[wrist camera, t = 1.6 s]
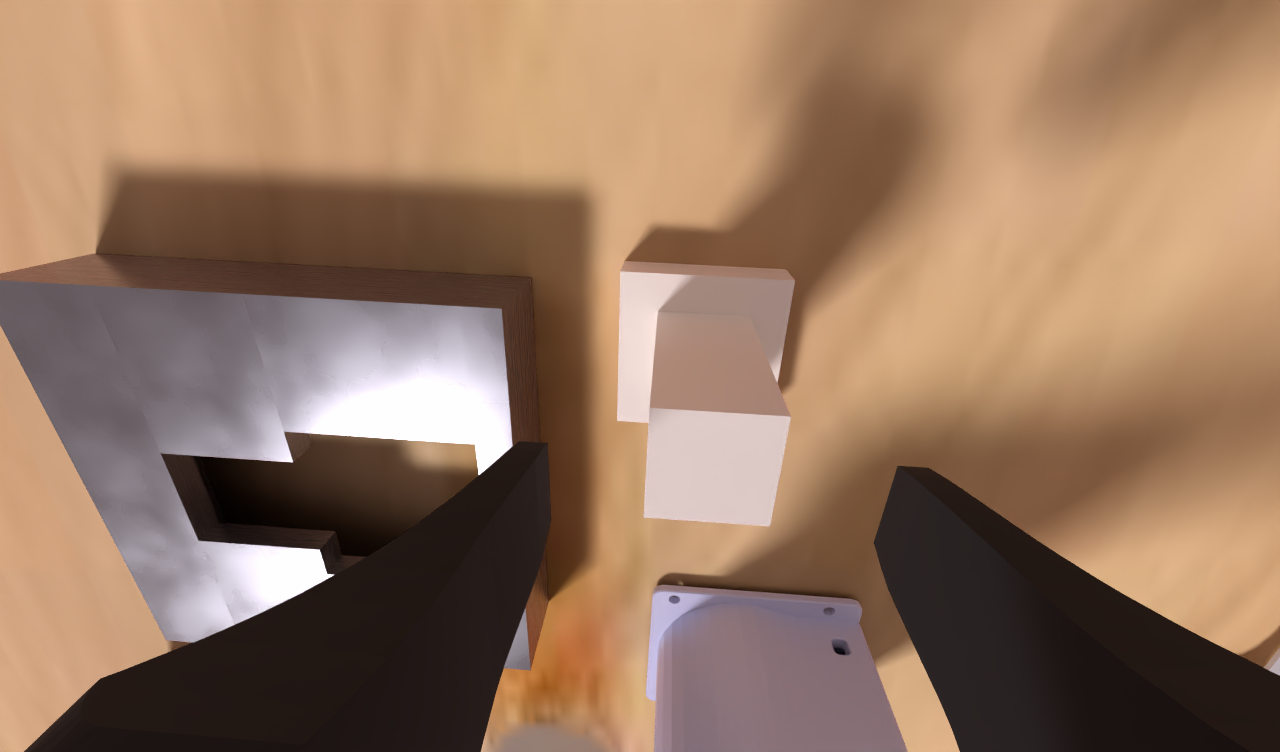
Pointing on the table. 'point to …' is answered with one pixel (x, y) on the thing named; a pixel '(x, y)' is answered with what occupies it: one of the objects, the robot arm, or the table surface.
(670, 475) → the peg
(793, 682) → the robot arm
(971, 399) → the table surface
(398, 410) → the keyhole plate
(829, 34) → the table surface
